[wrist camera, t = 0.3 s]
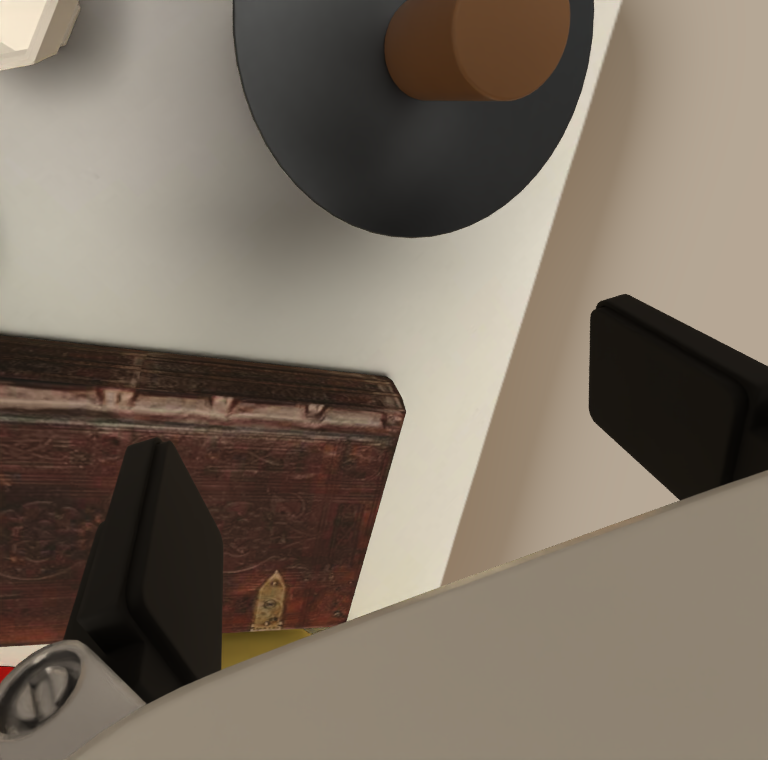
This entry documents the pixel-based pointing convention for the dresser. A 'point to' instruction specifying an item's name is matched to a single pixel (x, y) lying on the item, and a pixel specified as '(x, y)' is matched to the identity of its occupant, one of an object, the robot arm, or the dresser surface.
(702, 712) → the robot arm
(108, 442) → the book
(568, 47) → the lid
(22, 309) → the dresser surface
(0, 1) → the cup
